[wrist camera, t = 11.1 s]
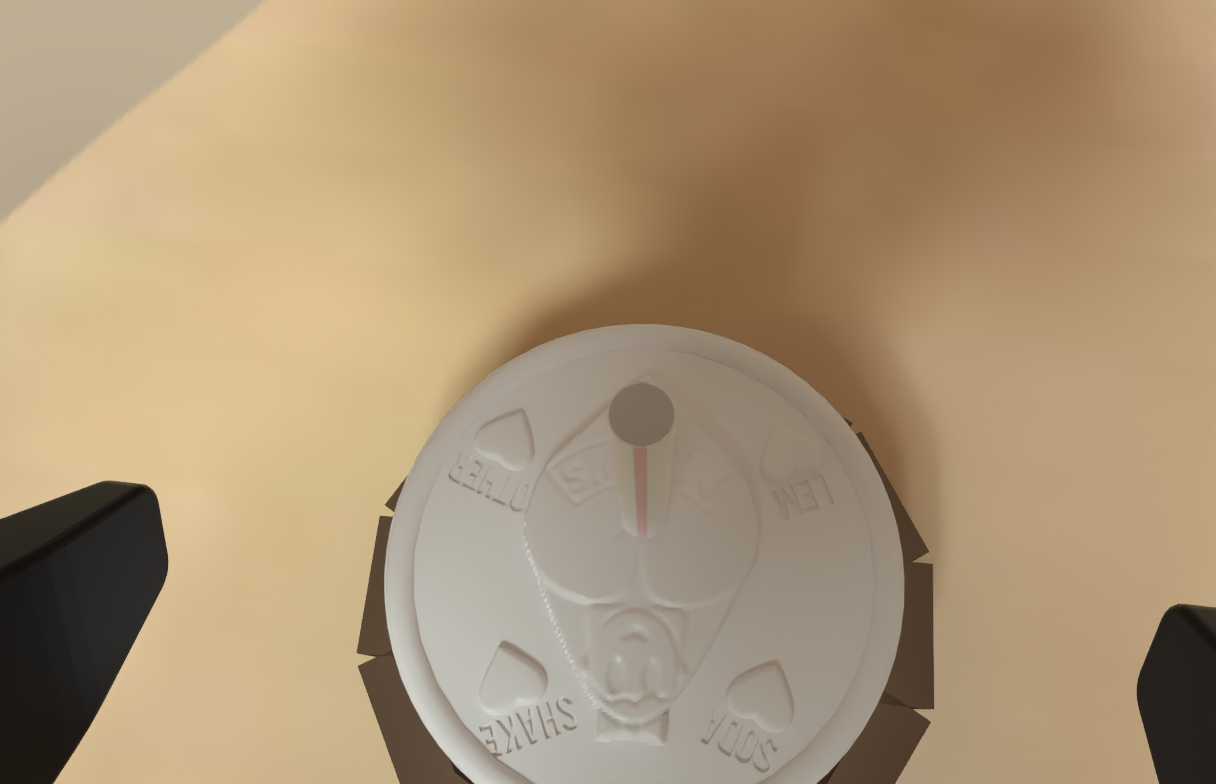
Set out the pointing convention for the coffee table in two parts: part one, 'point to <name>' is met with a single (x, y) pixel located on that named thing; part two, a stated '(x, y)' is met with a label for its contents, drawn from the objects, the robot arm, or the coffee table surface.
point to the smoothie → (644, 569)
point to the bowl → (854, 780)
